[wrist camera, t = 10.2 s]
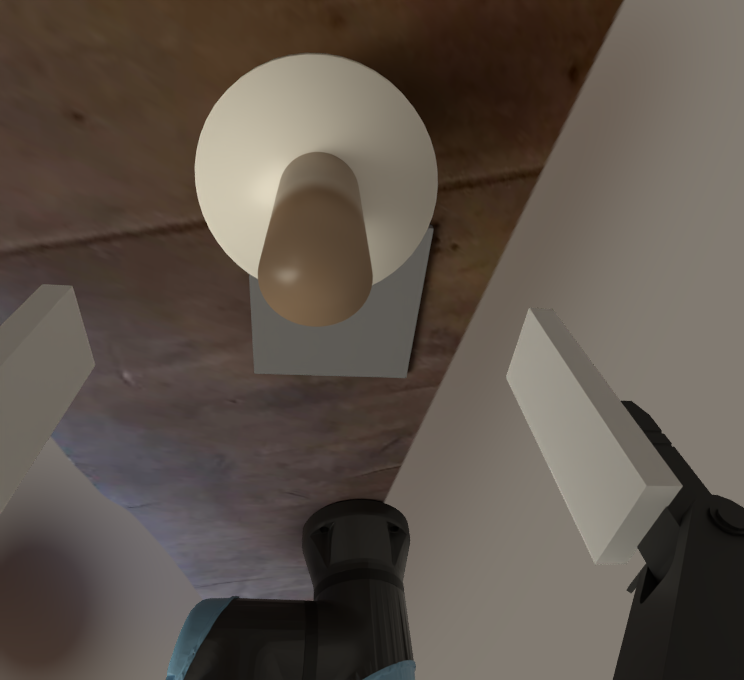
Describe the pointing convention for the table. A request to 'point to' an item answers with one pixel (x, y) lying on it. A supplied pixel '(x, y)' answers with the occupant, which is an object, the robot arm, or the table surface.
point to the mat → (346, 330)
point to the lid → (316, 182)
